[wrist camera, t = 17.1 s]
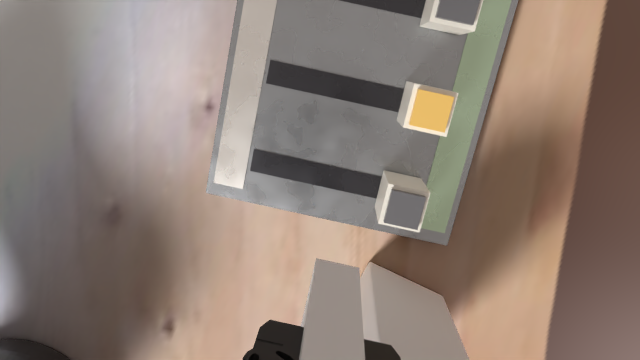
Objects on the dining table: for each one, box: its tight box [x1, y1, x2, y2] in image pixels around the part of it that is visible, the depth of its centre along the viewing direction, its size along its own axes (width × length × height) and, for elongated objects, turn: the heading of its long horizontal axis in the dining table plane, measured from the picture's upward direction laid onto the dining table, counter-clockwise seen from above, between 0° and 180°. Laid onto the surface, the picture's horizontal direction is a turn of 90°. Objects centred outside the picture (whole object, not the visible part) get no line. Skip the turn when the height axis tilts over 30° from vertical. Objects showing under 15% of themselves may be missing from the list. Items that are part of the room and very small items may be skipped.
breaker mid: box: [397, 81, 458, 137], centre depth 35 cm, size 3×3×5 cm
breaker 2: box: [419, 0, 483, 35], centre depth 34 cm, size 3×3×5 cm
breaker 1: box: [375, 170, 430, 233], centre depth 37 cm, size 3×3×5 cm
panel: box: [206, 0, 518, 246], centre depth 39 cm, size 20×21×2 cm
